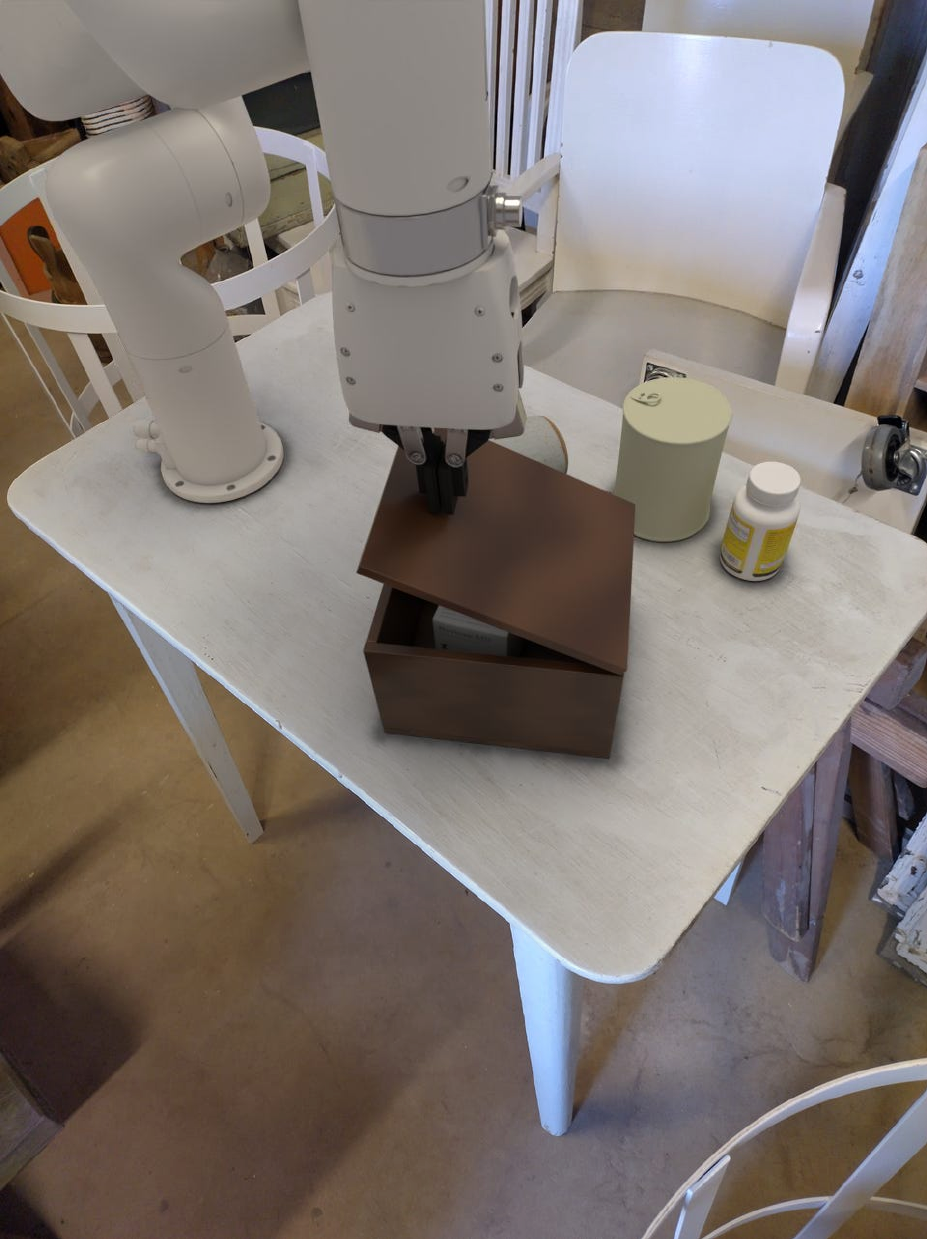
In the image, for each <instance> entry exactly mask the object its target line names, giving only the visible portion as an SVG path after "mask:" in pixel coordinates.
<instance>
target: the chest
mask: <svg viewBox="0 0 927 1239" xmlns="http://www.w3.org/2000/svg"><path fill="white" fill-rule="evenodd" d="M380 590H381V591H380V594H379V597H378V600H377V604H376V607H375V610H374V614H373V617H372V621H371V624H370V626H369V630H368V634H367V637H366V640H365V643H364V646H363V650H362V653H363V656H364V660H365V664H366V667H367V671H368V676H369V679H370V683H371V687H372V691H373V694H374V695H373V696H374V698H375V704H376V705H377V710H378V714H379V717H380V722H381V726H382V729H383V732H384V733H388V734H396V735H406V736H411V737H412V736H414V737H420V738H421V737H422V738H430V739H431V738H432V739H439V740H448V741H457V742H463V743H474V744H482V745H491V746H499V747H505V748H516V749H525V750H533V751H542V752H549V753H559V754H567V755H576V756H585V757H593V758H600V759H610V758H611V755H612V754H611V753H612V749H613V743H614V737H615V732H616V726H617V718H618V714H619V707H620V701H621V696H622V695H621V694H622V690H623V684H624V678H625V673H624V674H622V675H621V676H620V675H618V674H615V673H612V672H610V671H607V670H605V669H602V668H600V667H597V666H594V665H592V664H589V663H587V662H584V661H581V660H579V659H576V658H574V657H571V656H569V655H566V654H563V653H561V652H558V651H556V650H553V649H551V648H548V647H545V646H543V645H540V644H538V643H535V642H532V641H530V640H527V639H526V640H525V643H524V646H523V649H522V652H521V655H520V657H510V656H500V655H490V654H480V653H470V652H460V651H450V650H440V649H436V647H435V638H434V630H433V617H434V615H435V613H436V611H437V609H438V606H439V605H437V604H435V603H432V602H429V601H427V600H424V599H422V598H419V597H416V596H414V595H411V594H409V593H406V592H404V591H401V590H398V589H396V588H393V587H391V586H388V585H386V584H383V583H382V587H381V589H380Z"/></svg>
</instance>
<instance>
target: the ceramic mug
mask: <svg viewBox="0 0 927 1239" xmlns="http://www.w3.org/2000/svg"><path fill="white" fill-rule="evenodd" d="M489 440H490V441H492V442H494V443H497V444H499V445H501V446H504V447H506V448H508V449H510V450H513V451H515V452H517V453H520V454H522V455H524V456H526V457H529V458H531V459H533V460H535V461H538V462H540V463H542V464H545V465H547V466H549V467H551V468H554V469H556V470H558V471H561V472H563V473H565V474H567V473H568V469H569V454H568V449H567V445H566V442H565V440H564V437H563V435H562V433H561V431H560V429H559V428H558V426H557V425H556V423H554V422H553V421H552V420H551V419H549V418H548V417H546V416H543V415H532V416H527V420H526V425H525V430H524V433H523V434H522V435H521V436H517V437H510V438H503V439H496V440H495V439H494V438H493V439H489Z"/></svg>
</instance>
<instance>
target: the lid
mask: <svg viewBox="0 0 927 1239" xmlns="http://www.w3.org/2000/svg"><path fill="white" fill-rule="evenodd" d="M447 430H448V428H434V431H435V432H434V434H435V435H436V436H441V441H444V445H445V441H446V438H447ZM467 466H468V490H467V494H466V497H462V496H458V499H457V503H456V507H455V511H454V515H448V514H445V512H442V509H441V512H438V513H437V514H434V513H429V509H428V501H427V494H420V492H419V486H418V479H417V471H416V465H414V464H412V463H411V462H410V461H409V460H408V458H407V455H406V452H405V451H404V450H403V449H402V448H400V447H399V446H398V445H397V447H396V451H395V454H394V456H393V460H392V463H391V466H390V469H389V472H388V475H387V478H386V481H385V484H384V488H383V490H382V493H381V495H380V499H379V502H378V505H377V507H376V511H375V514H374V517H373V519H372V524H371V526H370V529H369V532H368V535H367V538H366V541H365V544H364V547H363V550H362V553H361V556H360V559H359V561H358V565H357V568H356V571H355V573H356V574H358V575H360V576H363V577H365V578H368V579H371V580H373V581H376V582H378V583H381V584H382V585H383V584H386V585H388V586H391V587H393V588H396V589H398V590H401V591H404V592H406V593H409V594H411V595H414V596H416V597H419V598H422V599H424V600H427V601H429V602H432V603H435V604H437V605H440V606H442V607H445V608H447V609H450V610H453V611H455V612H458V613H460V614H463V615H465V616H468V617H471V618H473V619H476V620H478V621H481V622H483V623H486V624H489V625H491V626H494V627H496V628H499V629H502V630H504V631H507V632H509V633H512V634H514V635H517V636H520V637H522V638H525V639H527V640H530V641H532V642H535V643H538V644H540V645H543V646H545V647H548V648H551V649H553V650H556V651H558V652H561V653H563V654H566V655H569V656H571V657H574V658H576V659H579V660H581V661H584V662H587V663H589V664H592V665H594V666H597V667H600V668H602V669H605V670H607V671H610V672H612V673H615V674H618V675H620V676H621V675H622V674H624V675H625V673H626V672H627V671H628V661H629V660H628V658H629V657H628V656H629V640H630V638H629V637H630V621H631V620H630V619H631V602H632V581H633V564H634V563H633V562H634V546H635V543H634V542H635V535H634V526H635V507H636V505H635V504H634V503H631V502H629V501H627V500H625V499H622V498H620V497H618V496H615V495H613V494H614V493H611V492H608V491H606V490H604V489H602V488H599V487H597V486H595V485H593V484H591V483H588V482H585V481H583V480H581V479H579V478H576V477H574V476H572V475H569V474H567V473H566V474H565V473H563V472H561V471H558V470H556V469H554V468H551V467H549V466H547V465H545V464H542V463H540V462H538V461H535V460H533V459H531V458H529V457H526V456H524V455H522V454H520V453H517V452H515V451H513V450H510V449H508V448H506V447H504V446H501V445H499V444H497V443H494V442H492V441H490V440H488V441H487V442H486V443H485V444H483V445H482V446H481V447H479V448H478V449H477V450H476V451H474V452H473V453H472V454H471V455H469V456H468V457H467Z"/></svg>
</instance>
